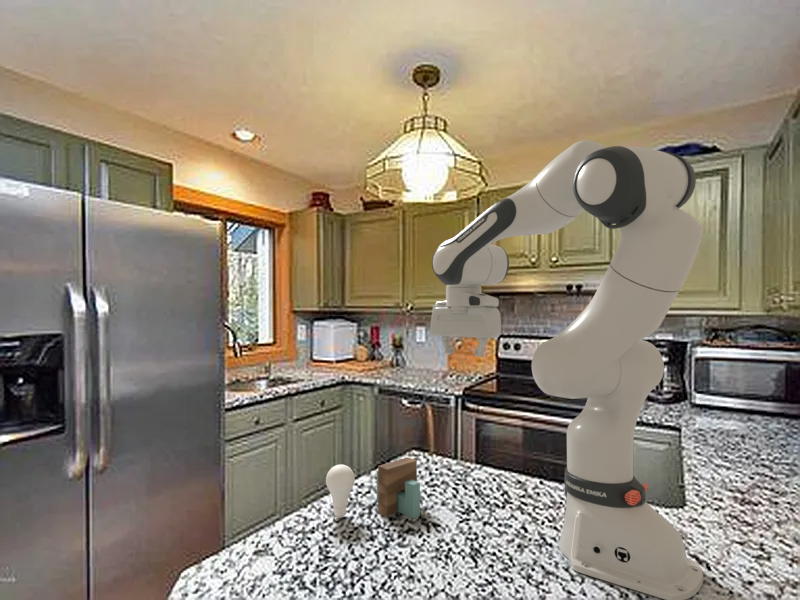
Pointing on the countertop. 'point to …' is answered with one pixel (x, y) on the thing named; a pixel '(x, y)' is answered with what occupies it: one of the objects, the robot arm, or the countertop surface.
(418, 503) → the teal bracket
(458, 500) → the countertop surface
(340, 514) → the lightbulb
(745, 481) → the countertop surface
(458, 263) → the robot arm
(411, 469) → the brown arch block
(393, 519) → the countertop surface
